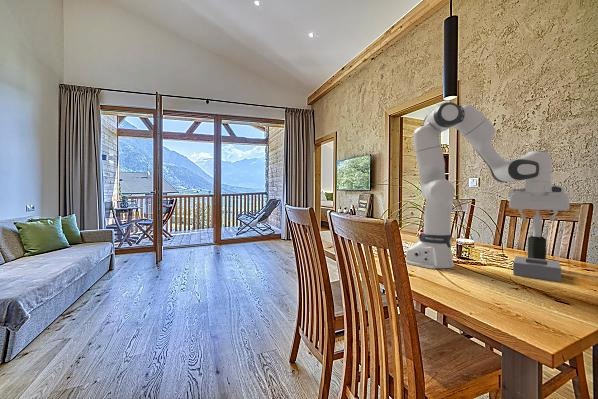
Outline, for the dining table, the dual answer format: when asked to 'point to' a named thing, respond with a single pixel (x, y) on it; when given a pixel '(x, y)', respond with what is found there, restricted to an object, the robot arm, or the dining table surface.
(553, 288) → the dining table surface
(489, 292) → the dining table surface
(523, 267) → the holder
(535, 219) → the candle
